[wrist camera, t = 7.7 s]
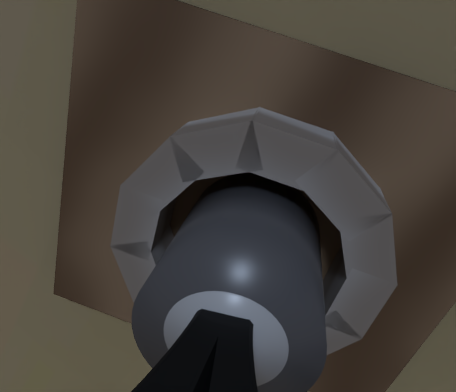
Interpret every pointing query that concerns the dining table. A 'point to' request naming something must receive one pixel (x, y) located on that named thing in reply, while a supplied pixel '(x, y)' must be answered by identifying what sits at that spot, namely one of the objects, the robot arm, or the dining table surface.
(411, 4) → the dining table surface
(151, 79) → the collar
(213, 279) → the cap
